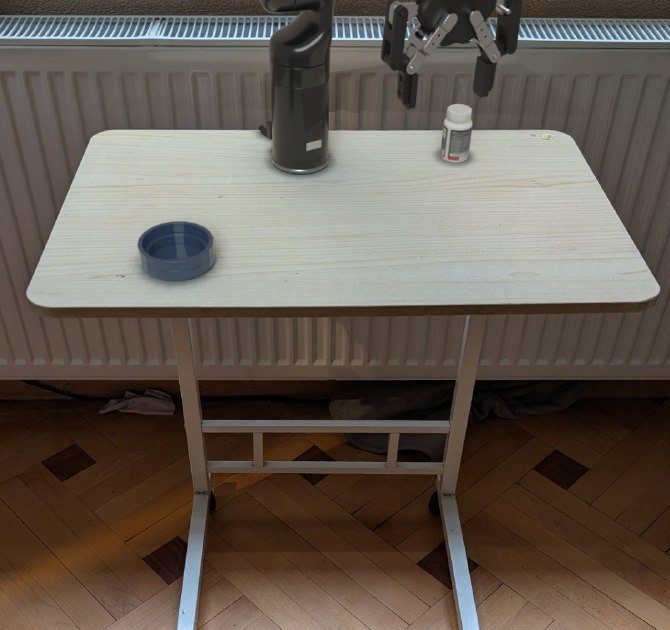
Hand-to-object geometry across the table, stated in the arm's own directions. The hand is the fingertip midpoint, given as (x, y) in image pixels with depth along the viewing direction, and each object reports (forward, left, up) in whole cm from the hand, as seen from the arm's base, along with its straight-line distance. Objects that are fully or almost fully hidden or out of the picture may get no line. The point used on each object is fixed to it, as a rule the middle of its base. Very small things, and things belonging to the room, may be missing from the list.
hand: (444, 100), depth 88 cm
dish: (-23, -26, -29) cm, 45 cm away
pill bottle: (-38, +25, -30) cm, 54 cm away
